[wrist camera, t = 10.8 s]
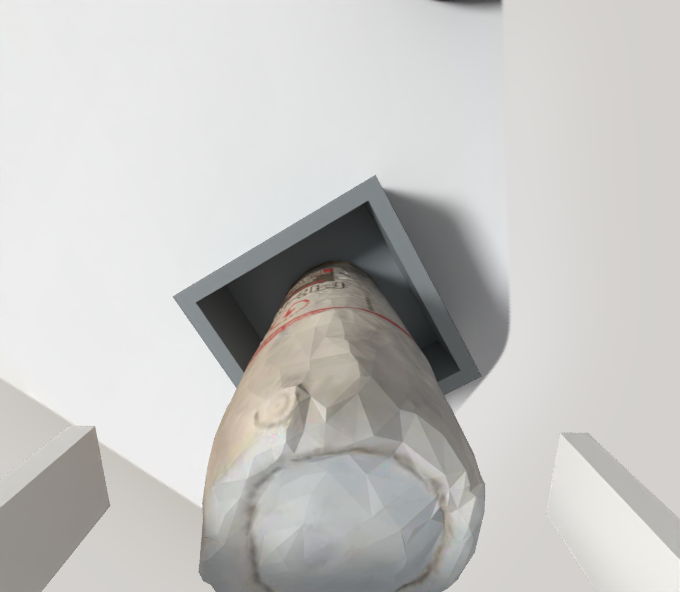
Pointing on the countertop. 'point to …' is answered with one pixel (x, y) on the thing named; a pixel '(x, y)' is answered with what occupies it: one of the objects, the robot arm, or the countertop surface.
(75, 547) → the robot arm
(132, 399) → the countertop surface
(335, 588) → the white paper tall sack
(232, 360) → the bin
